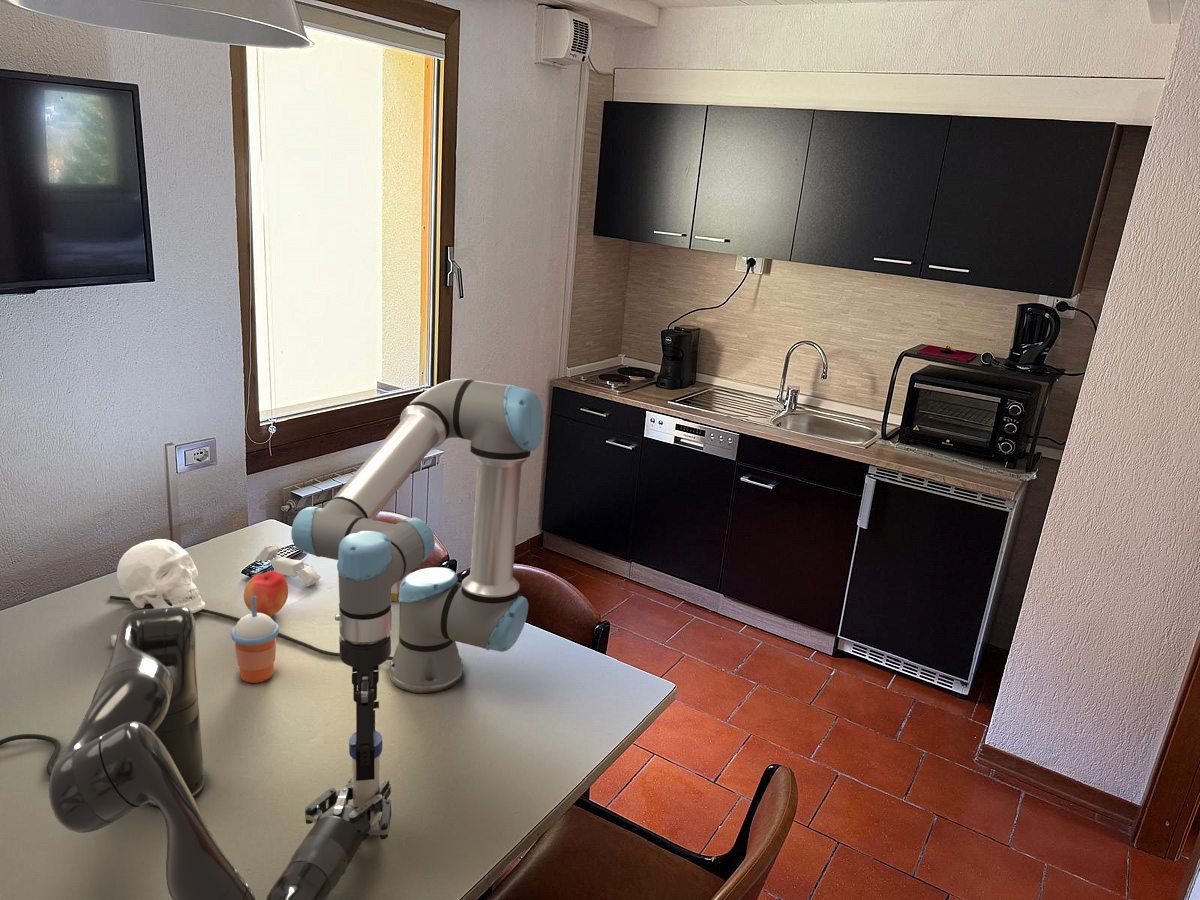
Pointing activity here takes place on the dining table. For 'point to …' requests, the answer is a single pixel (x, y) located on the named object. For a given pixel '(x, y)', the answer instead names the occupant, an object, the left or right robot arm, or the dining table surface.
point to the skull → (159, 575)
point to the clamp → (288, 565)
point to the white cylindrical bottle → (365, 787)
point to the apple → (267, 592)
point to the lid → (377, 744)
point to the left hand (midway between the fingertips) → (373, 782)
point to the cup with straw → (255, 645)
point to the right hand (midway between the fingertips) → (365, 762)
